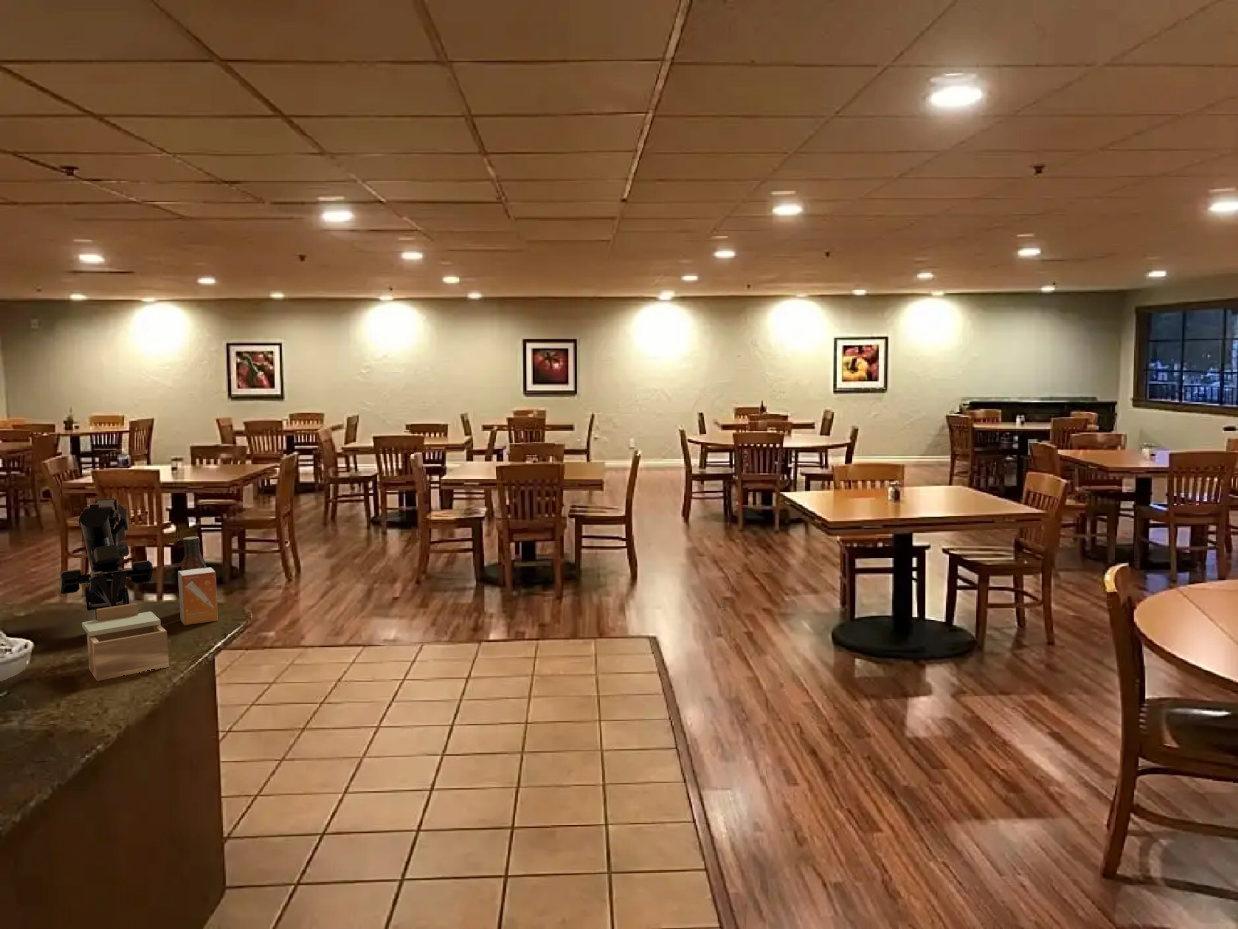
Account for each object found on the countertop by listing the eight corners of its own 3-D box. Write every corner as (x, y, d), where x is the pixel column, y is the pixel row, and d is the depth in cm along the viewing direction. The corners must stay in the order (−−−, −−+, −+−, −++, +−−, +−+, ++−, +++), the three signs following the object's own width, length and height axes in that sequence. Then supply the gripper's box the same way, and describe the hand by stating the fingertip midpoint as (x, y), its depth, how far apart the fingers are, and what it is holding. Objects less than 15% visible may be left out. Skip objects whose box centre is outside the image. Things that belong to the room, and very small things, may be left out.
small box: (184, 626, 236) (181, 575, 235) (180, 620, 241) (177, 570, 240) (218, 621, 241) (215, 571, 239) (213, 615, 246) (211, 566, 244)
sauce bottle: (215, 608, 252) (211, 536, 250) (198, 615, 246) (193, 540, 244) (196, 606, 254) (191, 534, 252) (178, 612, 248) (173, 539, 246)
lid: (82, 626, 207) (80, 611, 207) (151, 615, 216) (150, 600, 215) (89, 636, 200) (88, 620, 200) (160, 624, 209) (159, 609, 208)
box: (89, 669, 204) (86, 634, 203) (159, 656, 212) (157, 622, 211) (97, 680, 197) (94, 643, 196) (169, 666, 205) (166, 631, 204)
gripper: (57, 536, 209) (68, 594, 202) (148, 526, 221) (162, 581, 214) (54, 564, 216) (65, 621, 209) (143, 553, 228) (156, 607, 221)
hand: (113, 607), depth 213 cm, fingers closed
